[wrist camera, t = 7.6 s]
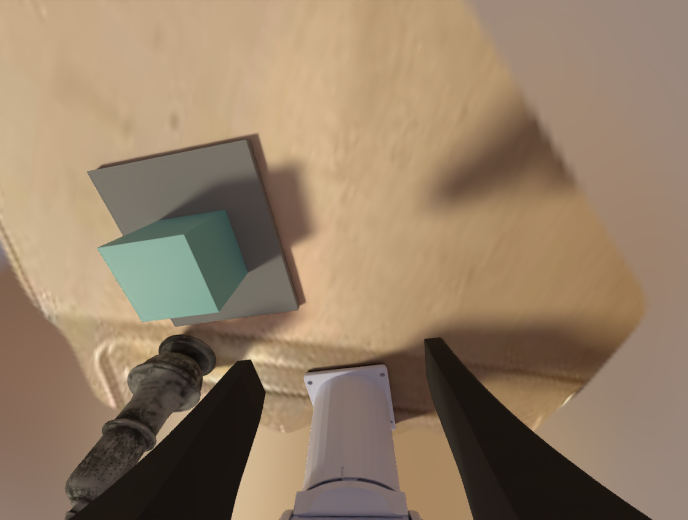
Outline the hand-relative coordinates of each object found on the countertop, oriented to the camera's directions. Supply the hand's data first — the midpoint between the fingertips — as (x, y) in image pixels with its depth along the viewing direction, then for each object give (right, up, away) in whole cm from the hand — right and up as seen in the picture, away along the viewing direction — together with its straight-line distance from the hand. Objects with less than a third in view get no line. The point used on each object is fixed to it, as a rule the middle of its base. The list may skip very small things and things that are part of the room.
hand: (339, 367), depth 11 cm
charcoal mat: (-10, +5, +9) cm, 15 cm away
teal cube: (-10, +5, +9) cm, 14 cm away
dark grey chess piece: (-15, -5, +14) cm, 21 cm away
